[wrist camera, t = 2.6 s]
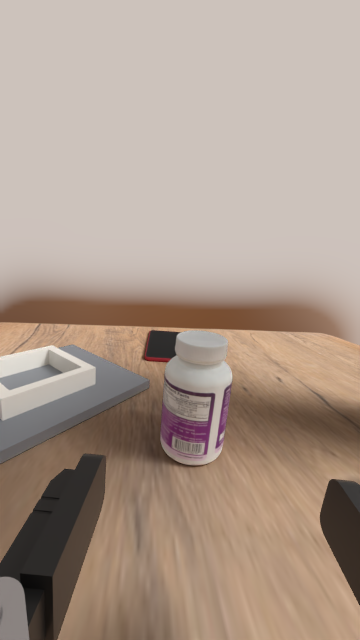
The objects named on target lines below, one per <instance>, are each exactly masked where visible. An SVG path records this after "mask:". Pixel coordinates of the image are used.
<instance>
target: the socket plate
mask: <svg viewBox="0 0 360 640" xmlns="http://www.w3.org/2000/svg"><path fill="white" fill-rule="evenodd" d="M149 383H150V380H148V379H146V378H144V377H142V376H140V375H138V374H135V373H133V372H131V371H129V370H127V369H125V368H122V367H120V366H118V365H116V364H114V363H112V362H109V361H107V360H105V359H103V358H101V357H99V356H97V355H94V354H92V353H90V352H88V351H86V350H84V349H81V348H79V347H77V346H75V345H69V346H64V347H60V348H56V347H54V346H53V345H52V346H47V347H43V348H38V349H34V350H29V351H24V352H20V353H15V354H11V355H6V356H2V357H0V464H1V463H3V462H5V461H7V460H9V459H11V458H13V457H15V456H17V455H19V454H20V453H22V452H24V451H26V450H28V449H30V448H32V447H34V446H36V445H38V444H40V443H42V442H44V441H46V440H48V439H50V438H52V437H54V436H56V435H58V434H60V433H62V432H64V431H66V430H67V429H69V428H71V427H73V426H75V425H77V424H79V423H81V422H83V421H85V420H87V419H89V418H91V417H93V416H95V415H97V414H99V413H101V412H103V411H105V410H107V409H109V408H111V407H113V406H114V405H116V404H118V403H120V402H122V401H124V400H126V399H128V398H130V397H132V396H134V395H136V394H138V393H140V392H142V391H144V390H146V389H148V388H149Z"/></svg>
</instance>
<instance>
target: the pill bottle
mask: <svg viewBox="0 0 360 640" xmlns="http://www.w3.org/2000/svg"><path fill="white" fill-rule="evenodd" d="M227 348H228V340H227V339H226V338H225V337H223V336H221V335H219V334H216V333H212V332H207V331H184V332H181V333H179V334H178V335H177V337H176V345H175V351H176V354H177V355H176V356H175V357H173V358H172V359H171V360H170V361H169V362H168V363H167V365H166V369H165V375H164V378H165V379H164V391H163V404H162V418H161V436H160V440H161V445H162V447H163V449H164V451H165V452H166V454H167V455H168V456H170V457H171V458H172V459H174V460H175V461H177V462H180V463H182V464H185V465H204V464H208V463H210V462H212V461H214V460H215V459H216V458H217V457H218V456H219V455H220V453H221V451H222V447H223V441H224V434H225V428H226V421H227V414H228V407H229V400H230V393H231V385H232V372H231V369H230V367H229V366H228V364H227V363H226V362H225V361H224V360H225V358H226V356H227Z"/></svg>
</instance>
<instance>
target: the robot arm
mask: <svg viewBox="0 0 360 640" xmlns="http://www.w3.org/2000/svg"><path fill="white" fill-rule="evenodd" d="M105 474H106V456H105V455H95V454H83V456H82V457H81V459H80V461H79V463H78V465H77V467H76V469H75V470H72V469H64V470H63V471H62V472H61V473H59V474H58V475H57V476H56V477H55V478H54V479H52V480H51V482H50V483H49V485H48V486H47V488H46V490H45V491H44V493H43V495H42V496H41V499H39V501H38V503H37V504H36V506H35V508H34V509H33V512H32V513H31V514H30V516H29V517H28V519H27V521H26V522H25V524H24V525H23V527H22V529H21V530H20V532H19V534H18V535H17V537H16V539H15V540H14V542H13V543H12V545H11V547H10V548H9V550H8V552H7V553H6V555H5V556H4V558H3V560H2V561H1V563H0V640H57V638H58V635H59V633H60V630H61V627H62V624H63V621H64V618H65V615H66V612H67V609H68V606H69V603H70V600H71V597H72V594H73V591H74V588H75V585H76V583H77V580H78V577H79V574H80V571H81V568H82V565H83V562H84V559H85V556H86V553H87V550H88V547H89V544H90V541H91V538H92V535H93V532H94V530H95V527H96V524H97V521H98V518H99V515H100V512H101V508H102V504H103V500H104V493H105ZM320 523H321V528H322V531H323V534H324V536H325V538H326V540H327V542H328V544H329V546H330V548H331V550H332V552H333V554H334V556H335V558H336V560H337V562H338V564H339V566H340V568H341V570H342V572H343V574H344V576H345V578H346V579H347V581H348V583H349V585H350V587H351V589H352V591H353V593H354V595H355V597H356V599H357V601H358V603H359V605H360V485H359V484H358V483H356V482H354V481H346V480H336V479H332V480H330V481H329V483H328V487H327V490H326V494H325V498H324V501H323V505H322V508H321V512H320Z"/></svg>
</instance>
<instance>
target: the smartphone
mask: <svg viewBox="0 0 360 640" xmlns="http://www.w3.org/2000/svg"><path fill="white" fill-rule="evenodd" d="M179 333H181V332H169V331H155V330H152V331H150V332H149V337H148V342H147V347H146V351H145V359H146V360H147V361H158V362H169V361H170V360H171V359H172V358H173V357H175V356H176V355H177V354H176V351H175V345H176V337H177V335H178V334H179Z"/></svg>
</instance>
